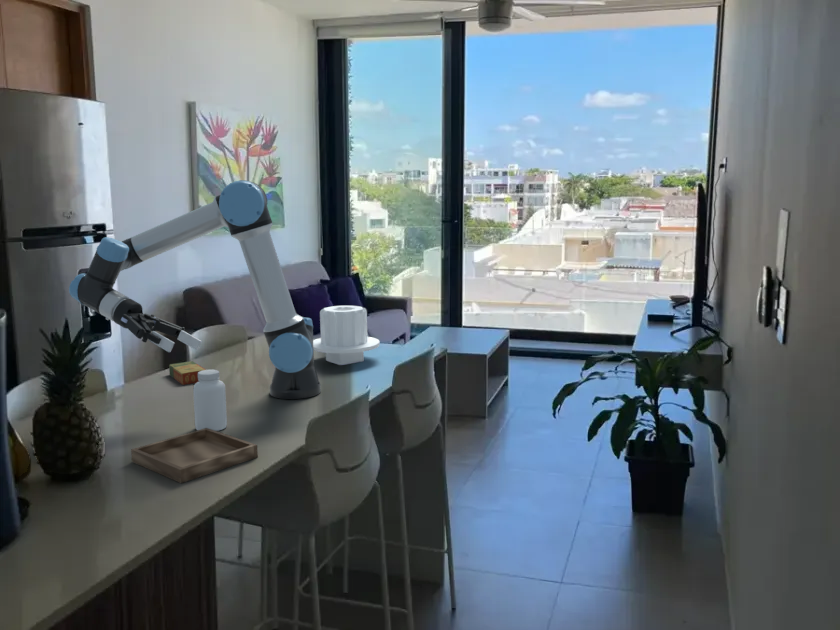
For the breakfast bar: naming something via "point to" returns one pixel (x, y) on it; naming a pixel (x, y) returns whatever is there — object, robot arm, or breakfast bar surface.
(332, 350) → the flanged gear
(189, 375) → the carton
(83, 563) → the breakfast bar surface
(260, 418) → the breakfast bar surface
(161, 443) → the tray
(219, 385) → the pill bottle
